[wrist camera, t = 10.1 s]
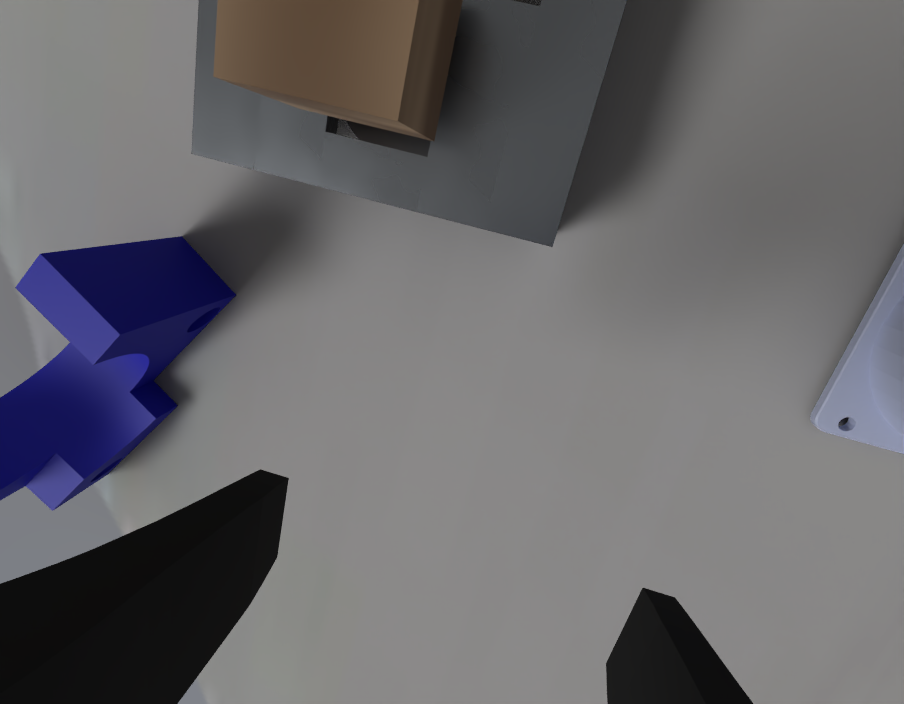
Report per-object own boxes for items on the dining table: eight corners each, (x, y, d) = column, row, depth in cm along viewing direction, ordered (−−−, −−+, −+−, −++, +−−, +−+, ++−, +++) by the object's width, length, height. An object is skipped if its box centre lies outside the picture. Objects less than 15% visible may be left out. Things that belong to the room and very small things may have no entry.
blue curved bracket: (109, 472, 24) (-23, 560, 18) (38, 404, 23) (-122, 473, 17) (264, 322, 20) (158, 373, 14) (184, 236, 19) (40, 253, 14)
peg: (513, 14, 15) (495, -174, 7) (474, 181, 17) (426, 170, 9) (359, -20, 15) (189, -233, 8) (336, 147, 17) (177, 108, 9)
